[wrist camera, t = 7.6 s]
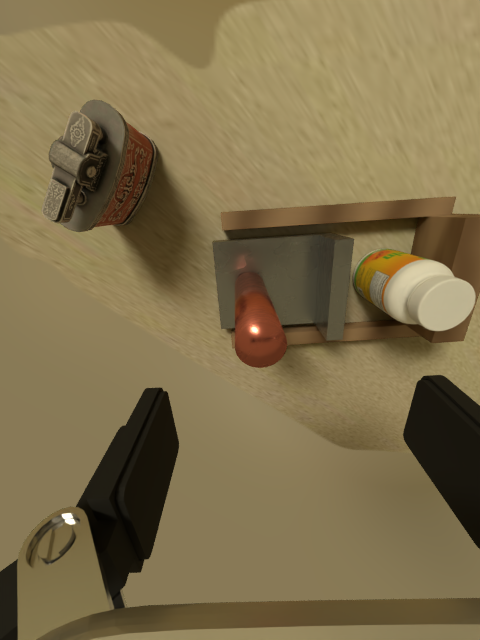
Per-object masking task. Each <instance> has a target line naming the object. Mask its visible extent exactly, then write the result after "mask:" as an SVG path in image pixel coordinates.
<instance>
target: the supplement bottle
mask: <svg viewBox="0 0 480 640" xmlns="http://www.w3.org/2000/svg"><path fill="white" fill-rule="evenodd" d="M353 284H354V287H355V289H356V291H357V292H358V293H359V294H360V295H361V296H362V297H363V298H365V299H366V300H368V301H369V302H371V303H372V304H374V305H375V306H377V307H378V308H379V309H381V310H382V311H384V312H385V313H387V314H388V315H390V316H391V317H392V318H394V319H396V320H397V321H400V322H402V323H406V324H419V325H421V326H423V327H424V328H426V329H428V330H432V331H444V330H448V329H451V328H453V327H455V326H457V325H458V324H460V323H461V322H462V321H464V320H465V319H466V318H467V317H468V315H469V314H470V312H471V311H472V309H473V307H474V304H475V298H476V296H475V291H474V289H473V287H472V286H471V285H470V284H469V283H468V282H466V281H464V280H462V279H459V278H456V277H454V275H453V273H452V271H451V270H450V269H449V268H448V267H447V266H445V265H444V264H442V263H440V262H437V261H433V260H430V259H426V258H422V257H418V256H414V255H411V254H407V253H403V252H400V251H396V250H392V249H377V250H374V251H372V252H370V253H368V254H367V255H365V256H364V257H363V258H362V259H361V260H360V261H359V262H358V264H357V266H356V268H355V270H354V273H353Z"/></svg>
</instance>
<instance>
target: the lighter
mask: <svg viewBox="0 0 480 640" xmlns="http://www.w3.org/2000/svg"><path fill="white" fill-rule="evenodd" d="M49 160H50V162H51V164H52V167H53V168H54V169H53V172H52V176H51V179H50V182H49V186H48V189H47V192H46V196H45V199H44V202H43V206H42V214H43V216H44V217H45V218H46V219H48V220H50V221H51V222H54V223H60V224H62V225H63V226H64V227H66V228H67V229H70V230H72V231H76V232H83V231H88V230H92V229H93V228H94V227H99V226H106V225H117V226H122V225H126V224H128V223H129V222H130V221H131V220H132V219H133V217H134V216H135V215H136V213H137V212H138V210H139V209H140V207H141V205H142V203H143V201H144V200H145V198H146V196H147V194H148V191H149V189H150V186H151V183H152V180H153V177H154V173H155V169H156V165H157V160H158V150H157V146H156V145H155V143H154V142H153V141H152V140H151V139H150V138H149V137H148V136H147V135H146V134H144V133H142V132H138V131H137V130H136V129H135V128H133V127H132V126H131V125H130V124H128V123H127V122H126V121H125V120H124V118H123V116H122V115H121V114H120V113H119V112H118V111H117V110H116V109H114V108H113V107H112V106H111V105H109V104H107V103H105V102H104V101H101V100H91V101H88V102H86V103H85V104H84V105H83V107H82V108H81V110H80V112H78V111H73V112H72V113H71V114H70V116H69V119H68V122H67V126H66V129H65V132H64V136H61V137H60V138H59V139H58V140H55V141H54V142H53V144H52V145H51V148H50V151H49Z"/></svg>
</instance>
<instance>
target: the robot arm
mask: <svg viewBox="0 0 480 640" xmlns="http://www.w3.org/2000/svg"><path fill="white" fill-rule="evenodd" d="M403 436H404V440H405V442H406V444H407V446H408V447H409V449H410V450H411V451H412V453H413V454H414V456H415V457H416V459H417V460H418V462H419V463H420V464H421V466H422V467H423V469H424V470H425V472H426V473H427V475H428V476H429V477H430V479H431V480H432V482H433V483H434V484H435V486H436V488H437V489H438V491H439V492H440V493H441V495H442V496H443V498H444V499H445V501H446V502H447V503H448V505H449V506H450V508H451V509H452V511H453V512H454V514H455V515H456V517H457V518H458V520H459V521H460V522H461V524H462V525H463V527H464V528H465V530H466V531H467V532H468V534H469V536H470V537H471V538H472V540H473V541H474V543H475V544H476V545H477V547H478V548H480V406H479V405H478V404H477V403H476V402H474V401H473V400H472V399H471V398H470V397H469V396H467V395H466V394H465V393H464V392H463V391H461V390H460V389H459V388H458V387H457V386H455V385H454V384H453V383H452V382H451V381H450V380H448V379H447V378H446V377H444V376H442V375H433V376H423V377H422V378H421V380H419V381H418V382H417V385H416V388H415V392H414V396H413V399H412V403H411V407H410V410H409V414H408V418H407V421H406V425H405V429H404V433H403ZM178 449H179V441H178V437H177V432H176V427H175V423H174V419H173V414H172V410H171V406H170V401H169V396H168V393H167V392H166V391H163V389H162V388H146V389H145V390H144V392H143V394H142V396H141V398H140V399H139V401H138V403H137V405H136V407H135V409H134V411H133V413H132V415H131V416H130V418H129V420H128V422H127V424H126V426H122V427H121V428H120V429H119V430H118V432H117V433H116V435H115V437H114V439H113V441H112V442H111V444H110V446H109V448H108V450H107V451H106V453H105V455H104V457H103V459H102V460H101V462H100V464H99V466H98V468H97V469H96V471H95V473H94V475H93V477H92V478H91V480H90V482H89V484H88V486H87V488H86V489H85V491H84V493H83V495H82V496H81V498H80V500H79V502H78V504H77V506H76V507H67V508H64V509H60V510H58V511H56V512H54V513H52V514H51V515H49V516H48V517H47V518H45V519H44V520H43V521H41V522H40V523H39V524H38V525H37V526H36V527H35V529H33V530H32V531H31V533H30V534H29V536H28V537H27V539H26V540H25V541H24V543H23V546H22V548H21V550H20V552H19V556H18V559H17V560H16V561H14V562H13V563H12V564H10V565H9V566H7V567H6V568H5V569H3V570H2V571H1V572H0V640H480V598H453V599H452V598H451V599H450V598H447V599H378V600H377V599H375V600H318V601H317V600H315V601H267V602H224V603H223V602H221V603H194V604H171V605H148V606H139V607H130V608H127V605H126V601H125V598H124V594H123V591H122V588H123V587H124V586H125V584H126V581H127V577H128V574H129V573H137V572H141V570H142V566H143V562H144V559H149V557H150V555H151V552H152V549H153V545H154V542H155V538H156V534H157V530H158V526H159V522H160V518H161V515H162V511H163V507H164V503H165V500H166V496H167V492H168V488H169V485H170V481H171V477H172V473H173V469H174V465H175V462H176V458H177V454H178Z"/></svg>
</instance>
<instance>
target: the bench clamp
mask: <svg viewBox="0 0 480 640" xmlns="http://www.w3.org/2000/svg"><path fill="white" fill-rule="evenodd" d="M455 199H456V197H440V198H425V199H411V200H396V201H381V202H367V203H352V204H337V205H322V206H308V207H293V208H278V209H264V210H249V211H234V212H221V221H222V230H234V229H249V228H264V227H279V226H294V225H308V224H323V223H338V222H353V221H368V220H382V219H397V218H412V217H418V222H417V227H416V232H415V237H414V241H413V246H412V251H411V255H414V256H418V257H422V258H426V259H430V260H433V261H437V262H440V263H442V264H444V265H445V266H447V267H448V268H449V269H450V270H451V271H452V273H453V275H454V277H456V278H459V279H462V280H464V281H466V282H468V283H469V284H470V285H471V286H472V287H473V289H474V291H475V296H476V298H475V304H474V307H473V309H472V311H471V312H470V314H469V315H468V317H467V318H466V319H465V320H464V321H462V322H461V323H460V324H458V325H457V326H455V327H453V328H451V329H448V330H444V331H432V330H428V329H426V328H424V327H423V326H421V325H419V324H406V323H402V322H400V321H397V320H384V321H369V322H354V323H344V332H343V340H328V341H326V339H325V338H324V336H323V335H322V333H321V332H320V331H319V329H318V328H317V326H316V325H308V326H292V327H282V328H283V331H284V333H285V336H286V339H287V345H293V344H308V343H324V342H339V341H355V340H370V339H385V338H401V337H416V336H422V337H424V338H425V339H427V340H428V341H429V342H431V343H440V342H455V341H464V338H465V335H466V332H467V329H468V326H469V323H470V320H471V317H472V314H473V311H474V308H475V305H476V302H477V299H478V296H479V293H480V215H478V214H452V211H453V207H454V203H455ZM231 338H232V348H235V330H232V332H231Z"/></svg>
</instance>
